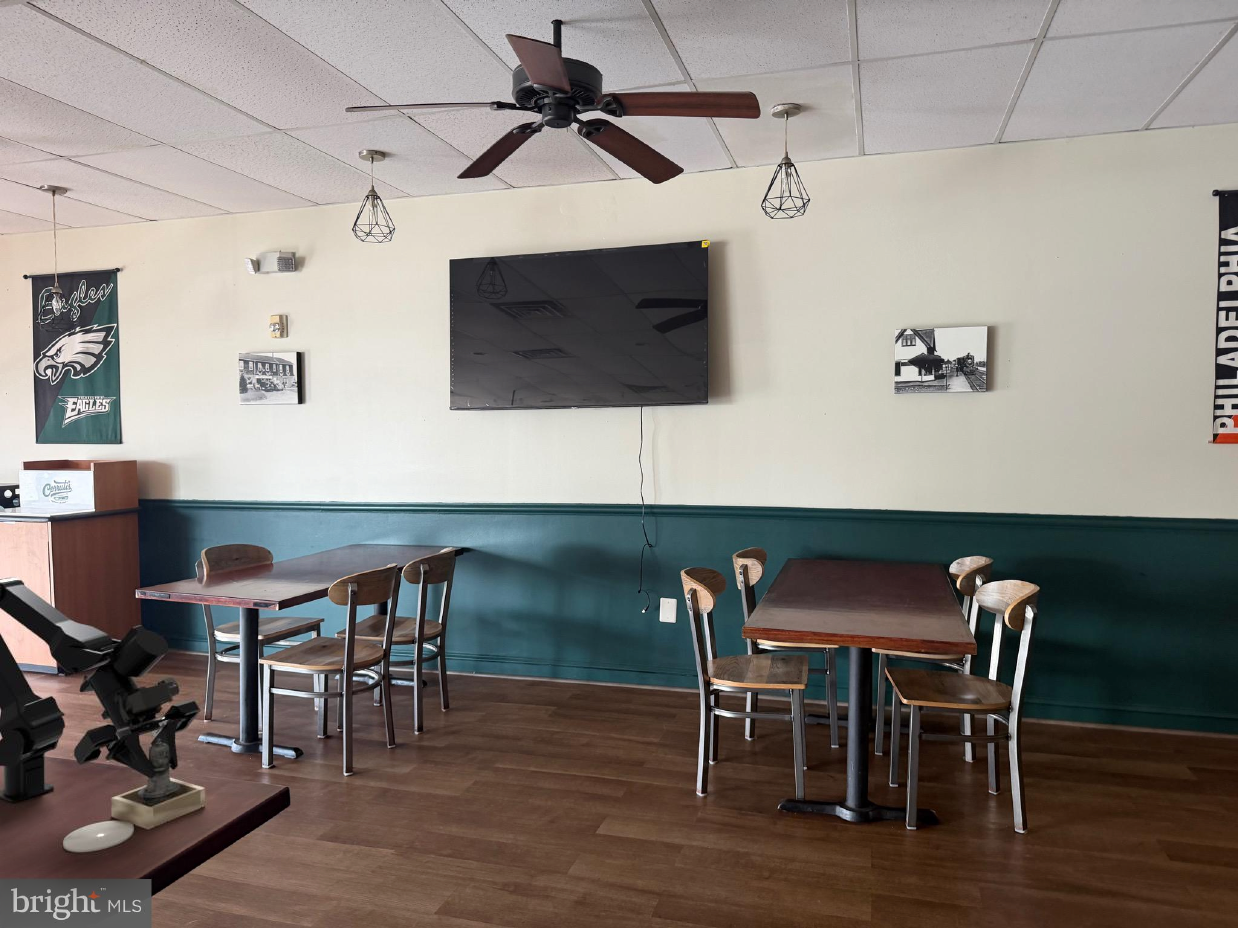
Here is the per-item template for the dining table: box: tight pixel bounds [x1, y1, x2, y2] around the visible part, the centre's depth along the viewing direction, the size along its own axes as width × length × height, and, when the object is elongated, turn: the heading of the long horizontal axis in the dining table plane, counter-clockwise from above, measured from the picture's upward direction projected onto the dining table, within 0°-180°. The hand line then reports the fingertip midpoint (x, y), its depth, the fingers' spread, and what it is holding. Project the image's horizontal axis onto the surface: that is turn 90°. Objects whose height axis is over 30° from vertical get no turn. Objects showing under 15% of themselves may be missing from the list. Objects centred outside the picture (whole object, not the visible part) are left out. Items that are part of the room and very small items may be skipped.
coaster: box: [62, 820, 135, 853], centre depth 123 cm, size 9×9×1 cm
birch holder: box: [110, 777, 206, 830], centre depth 133 cm, size 10×10×3 cm
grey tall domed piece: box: [138, 738, 179, 807], centre depth 133 cm, size 6×6×12 cm
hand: (164, 772), depth 132 cm, fingers closed on grey tall domed piece, 4 cm apart
